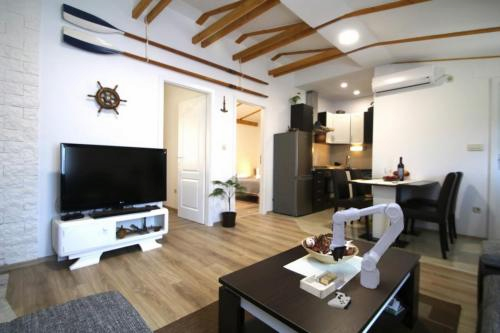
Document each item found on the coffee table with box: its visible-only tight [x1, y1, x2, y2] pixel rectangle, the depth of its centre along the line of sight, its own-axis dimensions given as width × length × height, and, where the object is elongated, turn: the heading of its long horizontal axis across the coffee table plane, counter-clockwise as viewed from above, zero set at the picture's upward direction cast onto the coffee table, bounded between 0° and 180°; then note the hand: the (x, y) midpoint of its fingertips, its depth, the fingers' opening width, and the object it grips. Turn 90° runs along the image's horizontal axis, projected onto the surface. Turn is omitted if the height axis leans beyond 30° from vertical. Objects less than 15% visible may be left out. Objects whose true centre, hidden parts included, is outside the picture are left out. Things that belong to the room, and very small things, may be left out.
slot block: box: [315, 270, 347, 291], centre depth 118 cm, size 11×12×3 cm
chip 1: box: [320, 275, 333, 286], centre depth 116 cm, size 4×4×2 cm
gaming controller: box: [327, 291, 352, 310], centre depth 100 cm, size 11×6×7 cm
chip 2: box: [326, 272, 338, 281], centre depth 119 cm, size 4×4×2 cm
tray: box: [299, 273, 336, 300], centre depth 110 cm, size 11×12×4 cm
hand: (338, 259), depth 123 cm, fingers open, 4 cm apart
